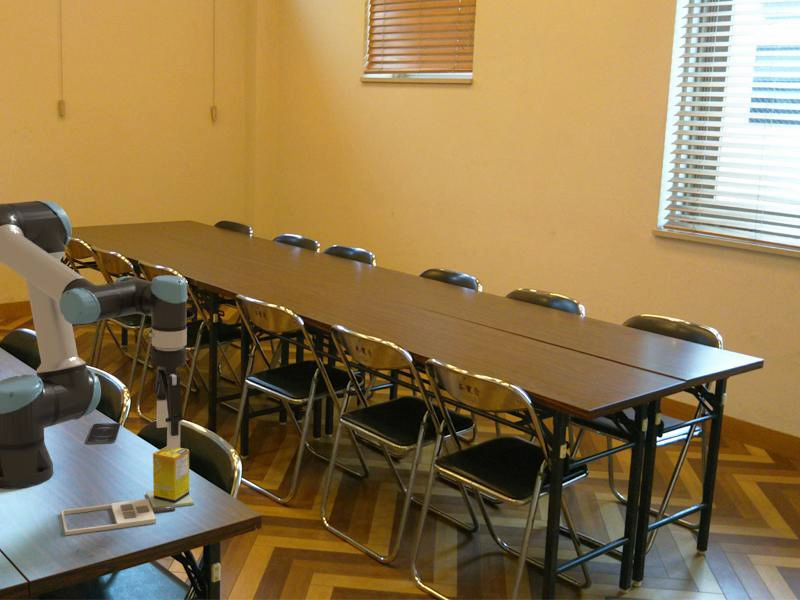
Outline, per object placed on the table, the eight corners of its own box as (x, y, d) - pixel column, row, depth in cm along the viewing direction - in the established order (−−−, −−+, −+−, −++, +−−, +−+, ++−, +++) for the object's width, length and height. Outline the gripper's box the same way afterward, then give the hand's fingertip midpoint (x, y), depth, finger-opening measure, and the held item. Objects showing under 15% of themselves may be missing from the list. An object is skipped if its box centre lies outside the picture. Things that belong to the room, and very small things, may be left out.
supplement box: (168, 489, 221) (167, 444, 218) (190, 494, 219) (190, 449, 216) (152, 498, 215) (152, 453, 213) (175, 503, 213) (174, 457, 211)
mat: (146, 494, 219) (146, 491, 219) (185, 489, 223) (185, 486, 222) (153, 509, 211) (153, 507, 211) (193, 504, 215) (193, 502, 214)
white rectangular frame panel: (61, 513, 207) (60, 508, 207) (170, 500, 216) (170, 495, 216) (65, 535, 197) (65, 529, 197) (179, 519, 207) (179, 514, 206)
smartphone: (121, 423, 264) (115, 441, 250) (121, 426, 264) (115, 444, 250) (93, 423, 263) (85, 442, 248) (93, 426, 263) (85, 445, 248)
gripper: (142, 332, 219) (142, 420, 224) (161, 363, 197) (160, 459, 201) (175, 331, 222) (174, 417, 227) (197, 361, 200) (196, 456, 204)
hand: (168, 437), depth 214 cm, fingers open, 13 cm apart
